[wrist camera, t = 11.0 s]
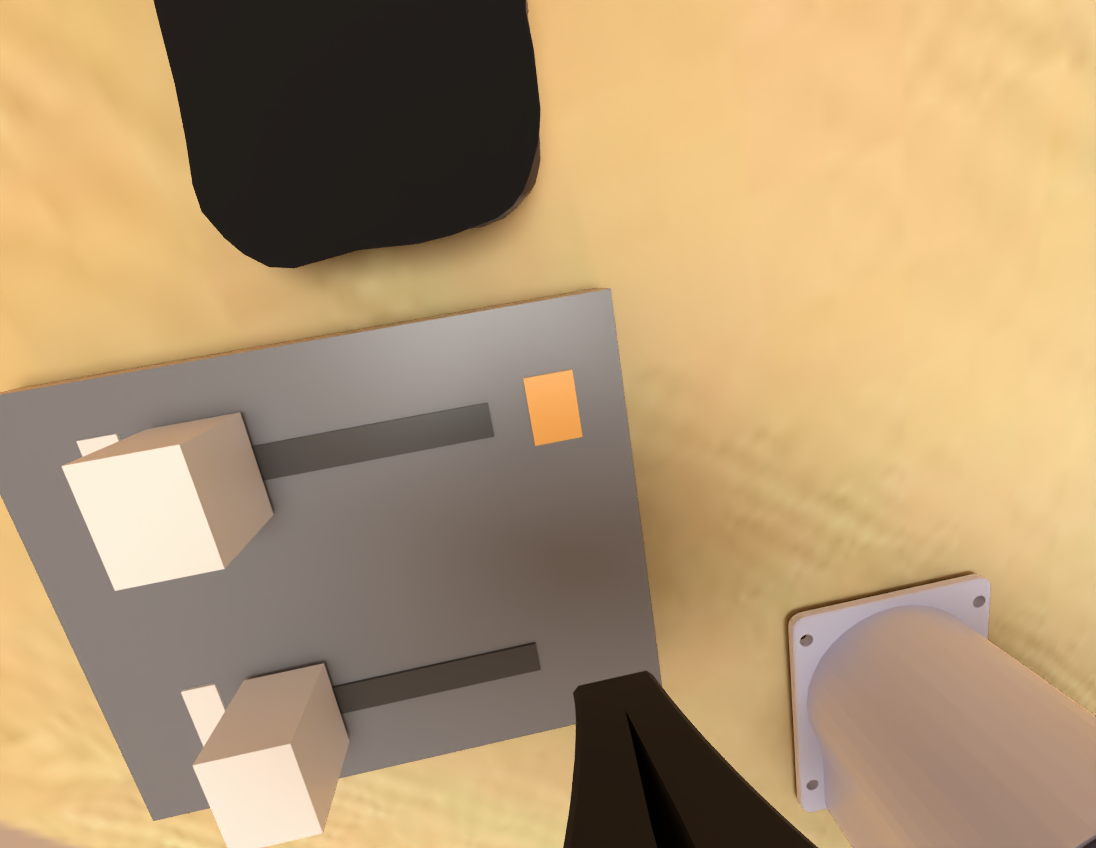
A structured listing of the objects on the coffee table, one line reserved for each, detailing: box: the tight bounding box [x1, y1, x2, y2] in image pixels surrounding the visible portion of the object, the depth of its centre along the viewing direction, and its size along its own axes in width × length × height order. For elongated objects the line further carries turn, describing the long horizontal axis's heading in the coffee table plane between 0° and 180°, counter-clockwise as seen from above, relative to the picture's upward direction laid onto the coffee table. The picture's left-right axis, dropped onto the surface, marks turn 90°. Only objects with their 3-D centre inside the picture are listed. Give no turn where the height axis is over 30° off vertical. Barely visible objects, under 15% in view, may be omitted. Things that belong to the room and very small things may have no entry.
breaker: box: [192, 663, 349, 848], centre depth 15 cm, size 3×2×3 cm
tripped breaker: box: [61, 412, 274, 591], centre depth 13 cm, size 3×2×3 cm
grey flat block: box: [0, 288, 662, 821], centre depth 17 cm, size 14×17×2 cm
